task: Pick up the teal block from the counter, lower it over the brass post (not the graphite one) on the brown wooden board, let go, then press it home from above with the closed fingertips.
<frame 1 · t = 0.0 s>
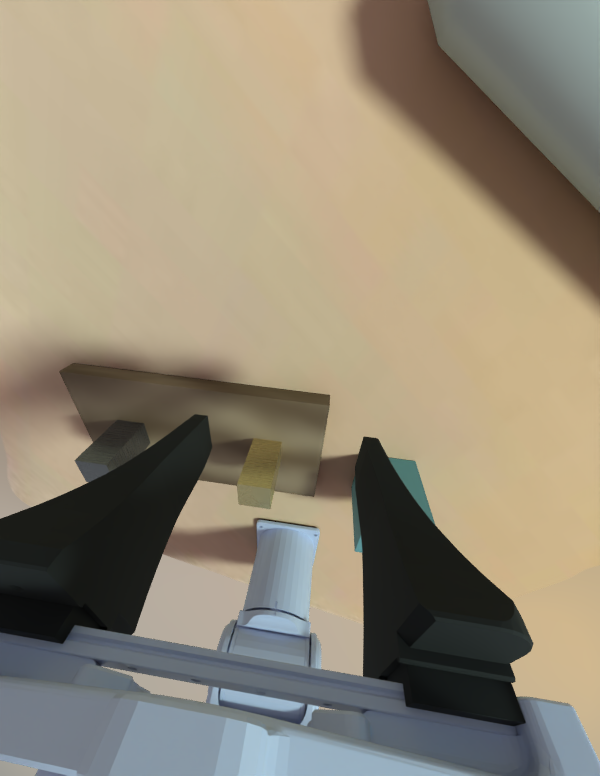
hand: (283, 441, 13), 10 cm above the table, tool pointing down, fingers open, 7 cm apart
brass post: (270, 438, 27), resting on brown wooden board
graphite post: (143, 421, 27), resting on brown wooden board
teal block: (381, 475, 28), on the table
brown wooden board: (206, 430, 27), on the table
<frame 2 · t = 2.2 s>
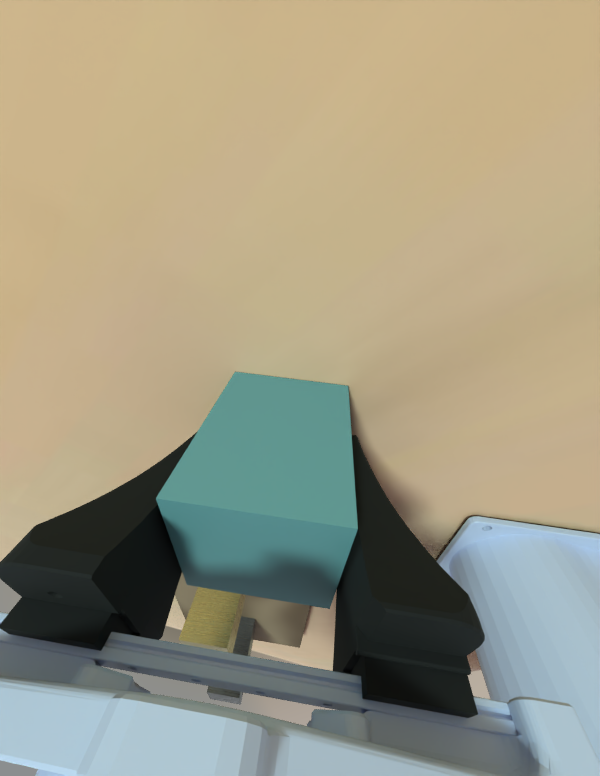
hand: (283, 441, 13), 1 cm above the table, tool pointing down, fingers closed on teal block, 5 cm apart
brass post: (240, 534, 20), resting on brown wooden board
graphite post: (246, 602, 27), resting on brown wooden board
teal block: (288, 422, 14), on the table, touching gripper
brown wooden board: (243, 573, 24), on the table
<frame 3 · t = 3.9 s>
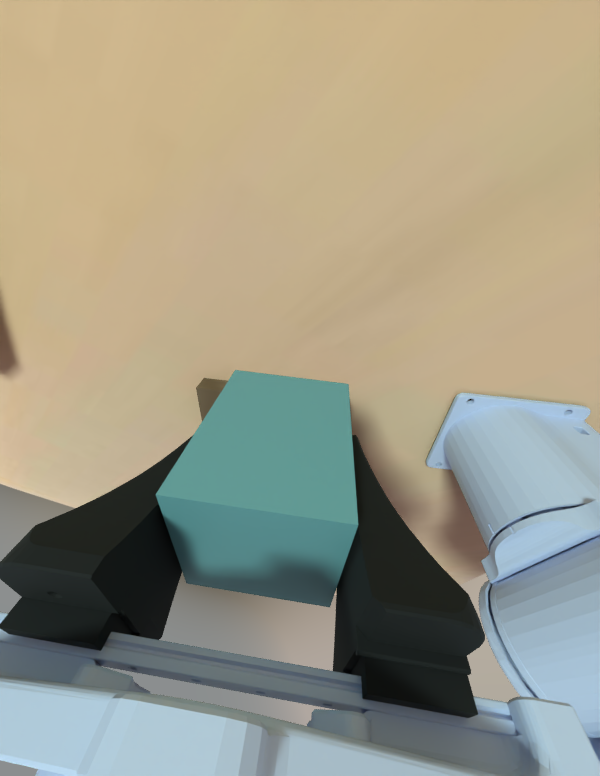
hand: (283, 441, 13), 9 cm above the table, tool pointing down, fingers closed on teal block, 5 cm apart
teal block: (288, 420, 14), point 8 cm above the table, touching gripper
brown wooden board: (273, 477, 29), on the table
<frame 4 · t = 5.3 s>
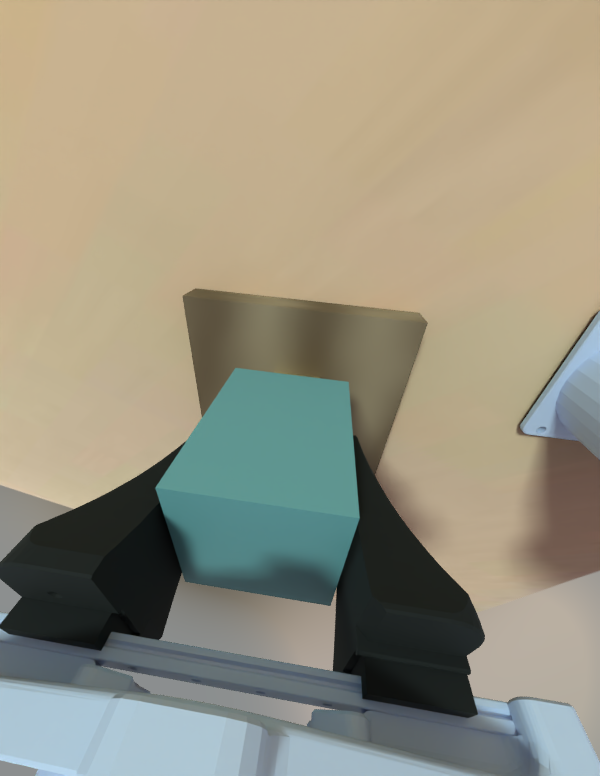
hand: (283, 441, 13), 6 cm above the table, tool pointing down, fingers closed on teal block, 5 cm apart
teal block: (288, 419, 14), point 4 cm above the table, touching gripper
brown wooden board: (292, 451, 21), on the table
when the fingers open (4 cm above the table, at t = 6.2 s): teal block stays where it is, resting on brown wooden board.
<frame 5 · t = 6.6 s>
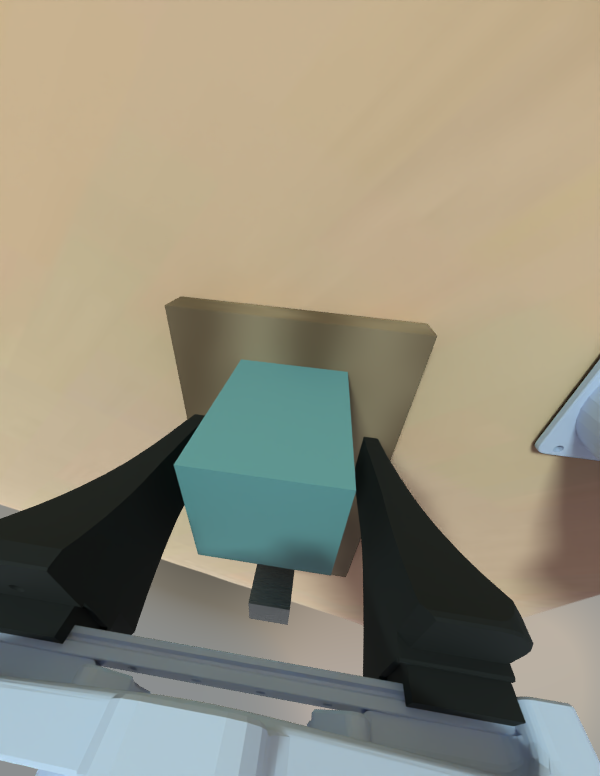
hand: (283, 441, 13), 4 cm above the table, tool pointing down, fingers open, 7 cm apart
graphite post: (284, 519, 23), resting on brown wooden board
teal block: (291, 408, 15), point 1 cm above the table, touching brown wooden board
brown wooden board: (288, 468, 19), on the table
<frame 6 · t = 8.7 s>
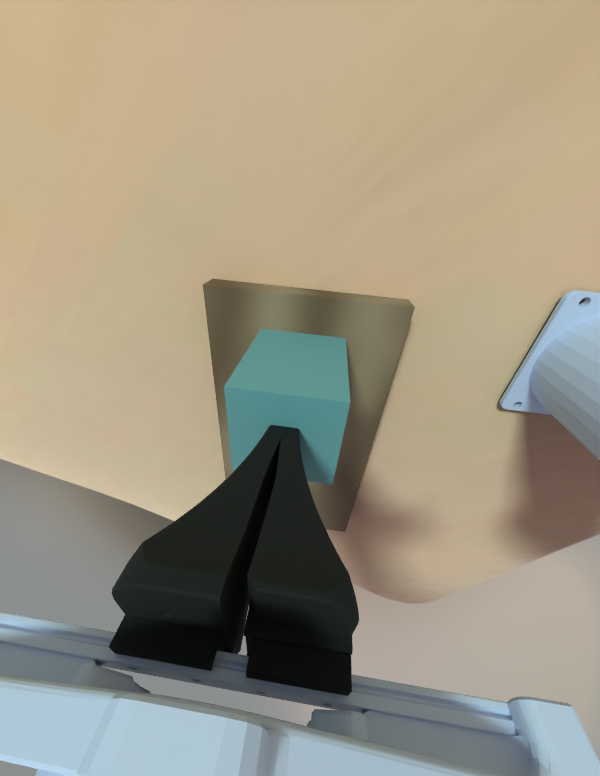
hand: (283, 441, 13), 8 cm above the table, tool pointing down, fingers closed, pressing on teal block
teal block: (300, 370, 18), point 1 cm above the table, touching gripper, brown wooden board
brown wooden board: (296, 429, 23), on the table
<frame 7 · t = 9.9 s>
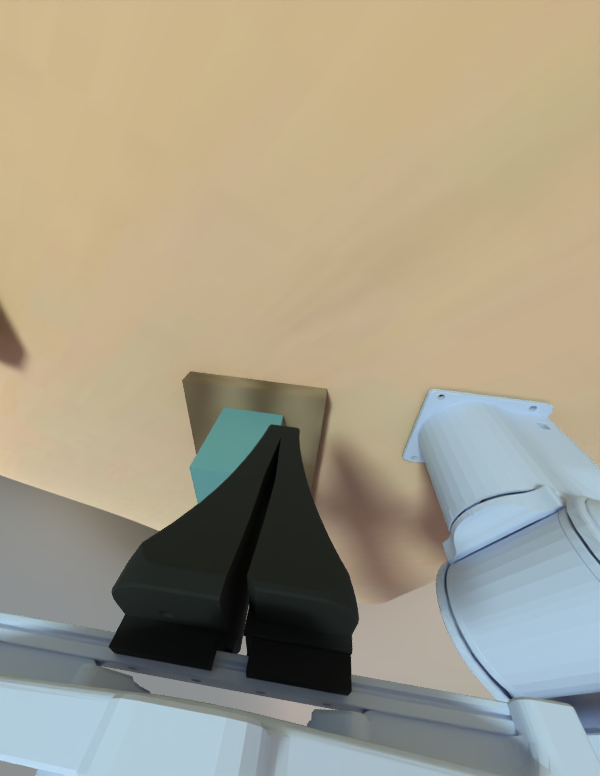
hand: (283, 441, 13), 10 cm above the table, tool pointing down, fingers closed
teal block: (254, 433, 25), point 1 cm above the table, touching brown wooden board
brown wooden board: (258, 469, 30), on the table
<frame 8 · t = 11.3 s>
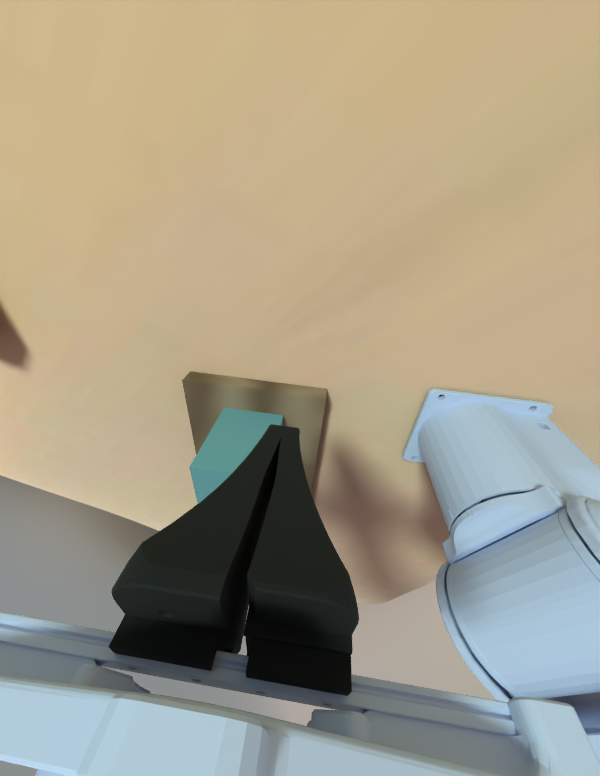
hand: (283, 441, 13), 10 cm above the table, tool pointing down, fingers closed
teal block: (254, 433, 25), point 1 cm above the table, touching brown wooden board
brown wooden board: (258, 469, 30), on the table
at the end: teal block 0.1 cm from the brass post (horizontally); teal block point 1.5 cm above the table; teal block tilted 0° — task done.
